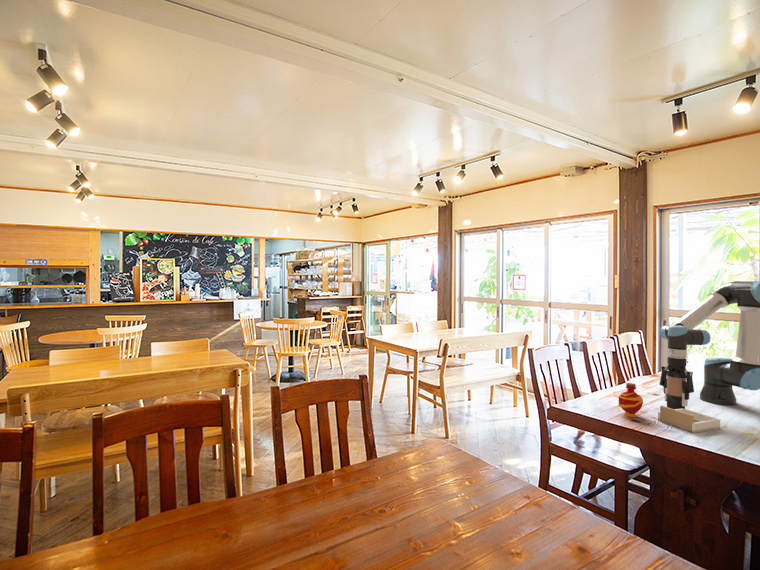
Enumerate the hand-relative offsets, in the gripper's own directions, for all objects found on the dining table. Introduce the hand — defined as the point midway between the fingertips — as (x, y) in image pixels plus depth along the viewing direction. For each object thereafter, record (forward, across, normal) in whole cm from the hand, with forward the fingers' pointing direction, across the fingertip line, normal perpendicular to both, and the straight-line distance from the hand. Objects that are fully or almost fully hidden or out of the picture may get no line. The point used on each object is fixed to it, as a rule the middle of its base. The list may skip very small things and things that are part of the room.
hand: (675, 403), depth 197 cm
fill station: (+4, +14, -12) cm, 19 cm away
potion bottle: (+4, -3, -26) cm, 27 cm away
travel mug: (+4, 0, 0) cm, 4 cm away
